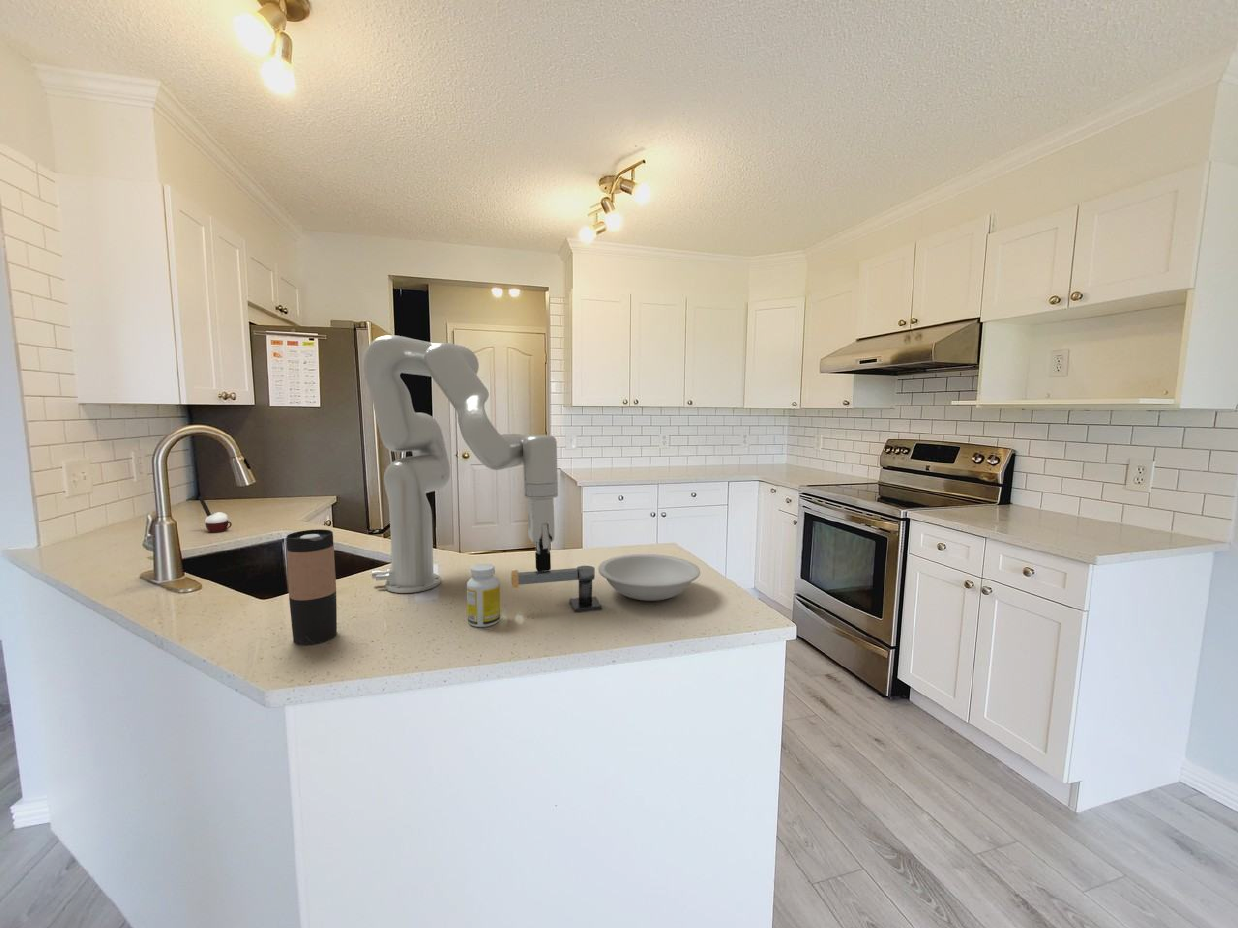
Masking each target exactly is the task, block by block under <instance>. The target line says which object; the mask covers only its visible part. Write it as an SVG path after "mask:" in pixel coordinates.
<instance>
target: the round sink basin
mask: <svg viewBox="0 0 1238 928" xmlns="http://www.w3.org/2000/svg"><path fill="white" fill-rule="evenodd" d="M597 570H598V574H600V576H602V577H603V578H604V579H606V581H607V582H608V583H609V585H610V587H612V588H613V590H615V591H616V592H618V593H619V594H621V595H623V596H625V597H627V598H631V599H633V600H639V601H647V602H648V601H650V602H651V601H663V600H667V599H671V598H673V597H676V596H678V595H680V594H681V593H683V592H684V591H685V590H686V589H688V587H689V586H690V585H691V583H692V582H693V581H695V580H697V579H698V578H699V577H700V575H701V569H700V567H698V565H696V564H695V563H694V562H692V561H689V560H686V559H684V558H680V557H676V556H671V555H665V554H653V553H652V554H651V553H639V554H638V553H635V554H625V555H618V556H615V557H610V558H608V559H605V560H603V561H602V562H601V563H600V564H599V565H598V569H597Z"/></svg>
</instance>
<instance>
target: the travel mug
mask: <svg viewBox="0 0 1238 928" xmlns="http://www.w3.org/2000/svg"><path fill="white" fill-rule="evenodd" d="M285 537H286V539H285V541H286V558H287V559H286V560H287V561H286V562H287V577H288V579H287V581H288V582H287V583H288V584H287V585H288V598H289V599H288V601H289V609H290V621H291V631H292V640H293V642H294V644H296V645H299V646H310V645H311V646H313V645H318V644H322V643H325V642H329V640H332V639H333V638H334V637H335V636H337V631H338V627H337V625H338V623H337V620H338V619H337V618H338V617H337V616H338V614H337V611H338V609H337V579H336V565H335V550H334V548H335V545H334V532H333V531H332V530H329V529H317V528H316V529H308V530H307V529H305V530H300V531H296V532H292V533H291V532H290V533H289V534H287V536H285Z"/></svg>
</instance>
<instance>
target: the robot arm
mask: <svg viewBox="0 0 1238 928" xmlns="http://www.w3.org/2000/svg"><path fill="white" fill-rule="evenodd" d="M363 355H364V356H363V359H362V360H363V361H362V369H363V370H362V371H363V374H364V378H365V382H366V385H367V387H368V390H369V393H370V396H371V399H372V405H373V410H374V415H375V418H376V422H377V426H378V431H379V435H380V439H381V442H382V444H383V446H384V447H385V449H387V450H388V451H390V452H394V453H404V452H407V453H408V452H411V454H412V456H405V457H401V458H398V459H395V460H393V461H391V463H389V464H388V465H387V467H386V469H385V470H384V473H383V474H384V475H383V484H384V485H383V486H384V489H385V494H386V498H387V503H388V511H389V526H390V527H389V528H390V529H389V530H390V554H391V556H390V557H391V558H390V559H391V566H390V568H386V569H385V570H381V569H379V570H372V573H371V574H372V575H371V578H372V579H373V580H375V581H377V582H378V581H384V580H386V581H385V587H384V588H385V590H387V592H388V591H389V592H392V593H397V594H410V593H411V594H413V593H418V592H424V591H427V590H430V589H433V588H435V587H437V586H439V585H440V583H441V577H440V575H439V574H437V573H435V572H434V552H433V551H434V548H433V547H434V541H433V514H432V513H433V512H432V508H431V504H430V502H429V500H428V496H427V494H429V493H432V492H435V491H436V492H437V491H438V490H440V489H442V488H444V487H445V486H446V485H447V484H448V482H449V480H450V477H451V476H450V475H451V467H450V462H449V458H448V457H449V456H448V453H447V448H446V444H445V441H444V436H443V432H442V429H441V426H440V424H439V422H438V421H437V420H436V419H435V418H434V416H432V415H430V414H428V413H425V412H416V411H415V409H414V407H413V402H412V396H411V393H410V391H409V389H408V386H407V385H406V384H405V382H404V381H403V379H402V378H401V374H408V375H417V376H423V377H424V376H425V377H431V378H432V380H434V382H435V383H436V385H437V386H438V387H439V389H440V390H441V391H442V393H443V395H444V396H445V397H446V398H447V400H448V401H449V403H450V405H452V407H453V408H454V410H455V411H456V414H457V423H458V427H459V431H460V433H461V436H462V438H463V440H464V442H465V443H466V445H467V446H468V448H469V449H470V450H471V452H472V453H473V455H474V456H475V457H476V459H478V461H479V462H480V463H481V464H482V465H483V466H485V467H487V468H488V469H489V470H495V471H499V470H505V469H508V468H514V467H518V466H522V467H523V468H522V469H523V496H524V498H525V499H527V501H528V502H527V529H528V530H527V535H528V538H529V539H530V541H531V543H533V544H535V555H534V557H535V569H536V570H535V571H546V570H552V569H551V567H552V566H551V565H552V564H551V563H552V562H551V543H553V542H554V541H555V505H554V498H558V496H559V486H558V485H559V484H558V483H559V482H558V481H559V478H558V476H559V475H558V445H557V443H558V441H557V439H556V437H555V436H553V435H549V434H535V435H532V434H531V435H526V434H517V433H509V434H508V433H507V434H500V433H499V431H498V430H497V429H496V428H495V426H494V425H493V423H492V422H491V421H490V419H489V417H488V415H487V412H486V410H485V409H486V407H485V405H486V402H487V401H488V400H489V395H490V393H489V390H488V388H487V387H486V386H485V384H484V383H483V381H482V380H481V379H480V378H479V377H478V375H477V374H478V371H479V367H480V365H479V359H478V358H477V356H476V354H475V353H474V352H473V351H472V350H471V349H470V348H469V347H466V346H463V345H458V344H454V343H451V342H450V343H448V342H438V343H437V342H436V343H435V342H430V341H425V340H420V339H415V338H411V337H407V336H403V335H401V336H400V335H395V334H394V335H393V334H389V335H387V334H386V335H381V336H379V337H377V338H375V339H374V340H373V341H371V342H370V343H369V344H368V346H367V348H366V349H365V352H364V354H363Z"/></svg>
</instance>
